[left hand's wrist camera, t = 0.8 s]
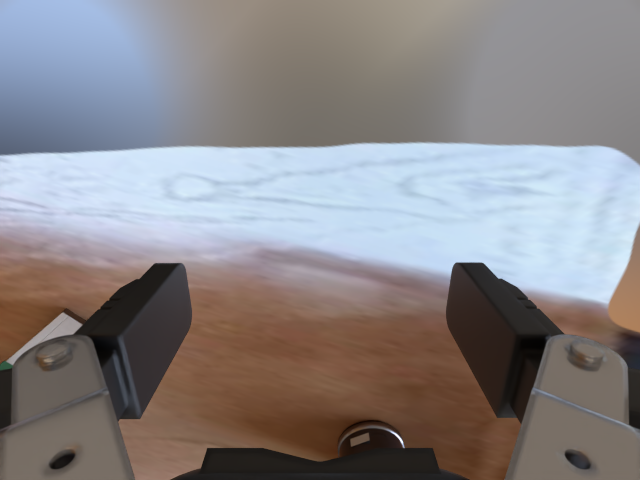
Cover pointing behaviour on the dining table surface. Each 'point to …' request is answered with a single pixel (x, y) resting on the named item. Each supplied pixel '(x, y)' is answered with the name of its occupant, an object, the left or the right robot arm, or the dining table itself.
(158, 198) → the dining table surface
